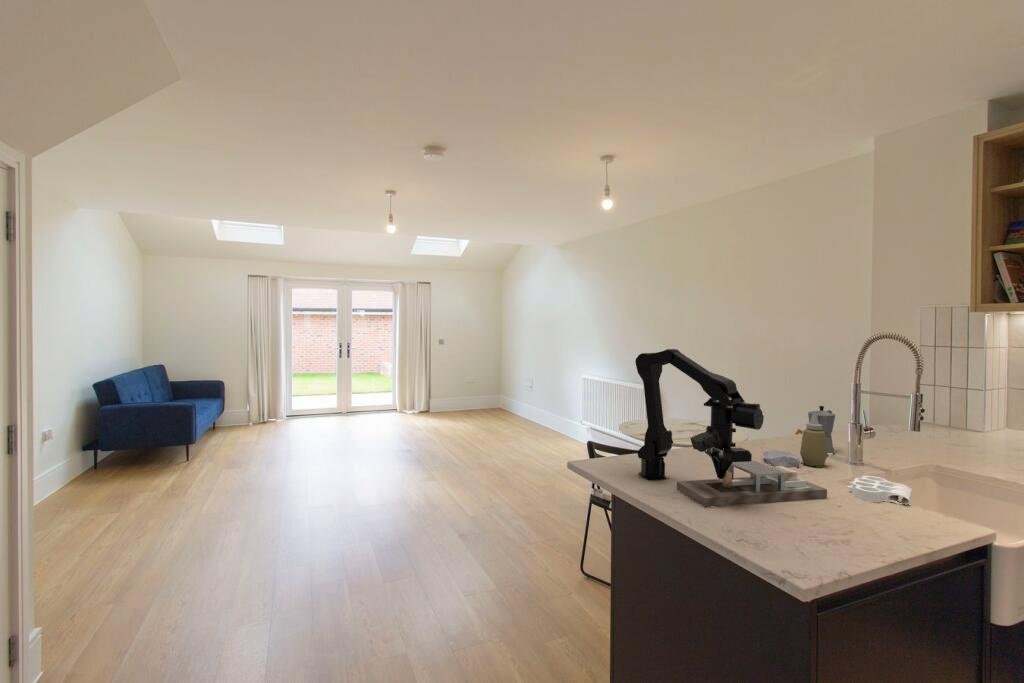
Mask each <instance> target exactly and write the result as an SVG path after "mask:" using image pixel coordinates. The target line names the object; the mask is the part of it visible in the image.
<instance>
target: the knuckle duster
mask: <svg viewBox="0 0 1024 683" xmlns="http://www.w3.org/2000/svg"><path fill="white" fill-rule="evenodd" d="M848 483H849V484H850V485H848V486H845V488H847V489H848V490H850V491H851V493H852V494H853V493H854V498H855V497H856V498H855V499H857V498H858V499H857V500H859V499H861V500H860V501H862V500H865V501H864V502H867V501H870V502H869V503H873V502H880V503H884V502H883V501H884V500H885V501H886V500H887V501H890V500H894V501H897V502H899V503H902V504H905V505H909V504H910V500H911V499H912V495H913V489H912V488H911V487H909V486H908V485H905V484H902V483H899V482H893V481H889V480H887V479H885V478H883V477H881V476H880V477H879V476H873V475H862V476H861V477H856V478H853V479H852V481H849V482H848ZM899 496H900V497H902V499H901V500H899ZM890 502H891V501H890ZM894 503H895V502H894ZM894 503H893V504H894ZM905 505H904V506H905Z"/></svg>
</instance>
